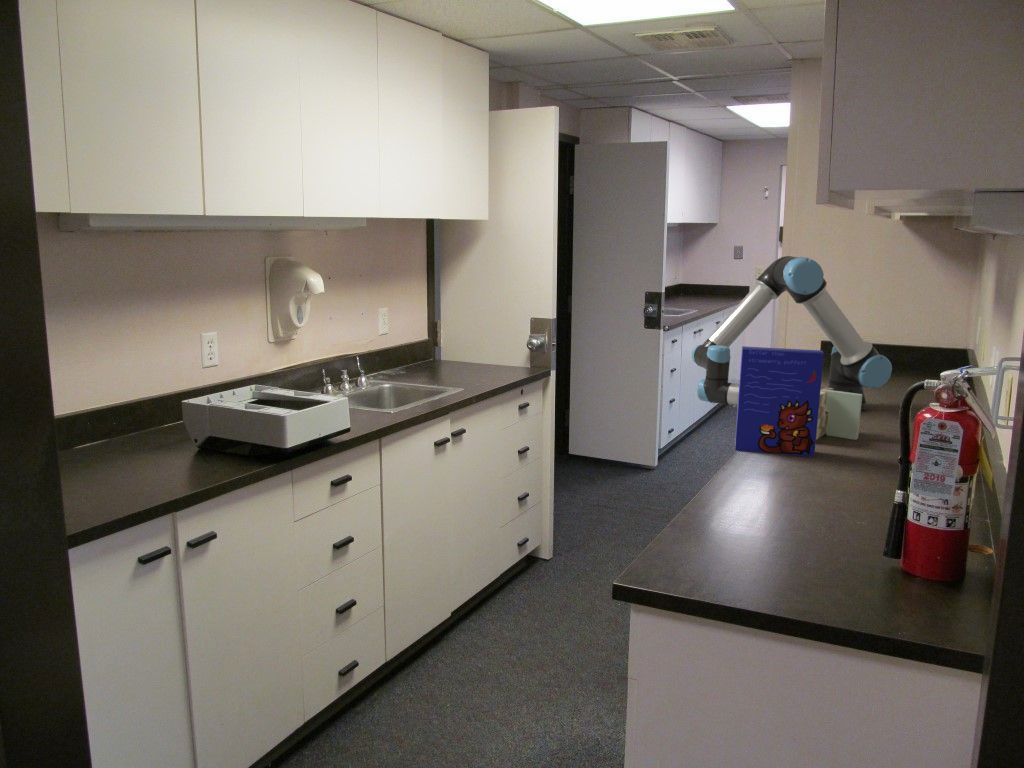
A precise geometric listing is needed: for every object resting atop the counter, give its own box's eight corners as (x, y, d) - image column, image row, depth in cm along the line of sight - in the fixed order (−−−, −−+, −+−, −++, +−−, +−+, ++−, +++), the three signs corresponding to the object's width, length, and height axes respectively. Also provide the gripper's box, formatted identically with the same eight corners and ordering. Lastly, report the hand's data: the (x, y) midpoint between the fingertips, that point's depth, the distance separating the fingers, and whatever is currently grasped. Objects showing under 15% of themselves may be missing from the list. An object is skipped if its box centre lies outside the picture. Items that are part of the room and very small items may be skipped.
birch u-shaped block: (821, 429, 265) (825, 387, 262) (829, 430, 263) (833, 388, 261) (802, 442, 249) (806, 397, 246) (810, 443, 248) (814, 398, 245)
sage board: (784, 428, 266) (788, 386, 263) (787, 427, 268) (790, 385, 265) (855, 439, 253) (860, 395, 250) (857, 438, 255) (862, 394, 252)
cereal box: (811, 451, 239) (821, 349, 233) (814, 456, 233) (823, 352, 228) (734, 445, 244) (742, 345, 238) (735, 450, 238) (742, 348, 233)
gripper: (756, 400, 284) (818, 409, 272) (728, 413, 264) (795, 423, 252) (757, 379, 283) (820, 387, 270) (730, 390, 263) (797, 399, 251)
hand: (808, 405), depth 261 cm, fingers open, 13 cm apart
